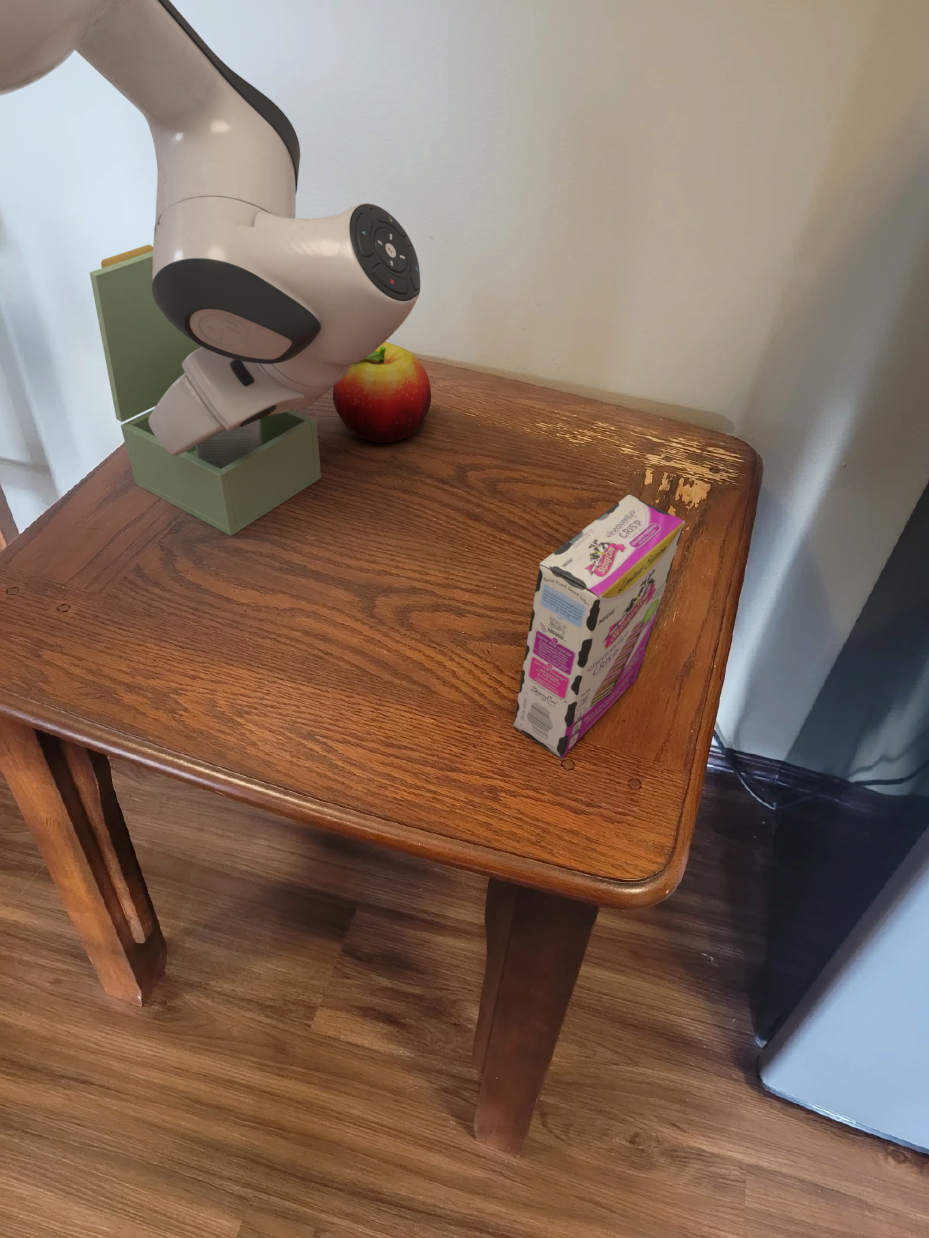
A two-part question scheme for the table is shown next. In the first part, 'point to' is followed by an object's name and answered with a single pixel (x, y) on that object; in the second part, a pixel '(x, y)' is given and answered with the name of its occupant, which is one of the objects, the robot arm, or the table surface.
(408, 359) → the fruit
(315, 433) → the chest
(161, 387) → the lid
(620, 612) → the candy bar box
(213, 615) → the table surface
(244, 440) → the cosmetic box
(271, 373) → the robot arm
